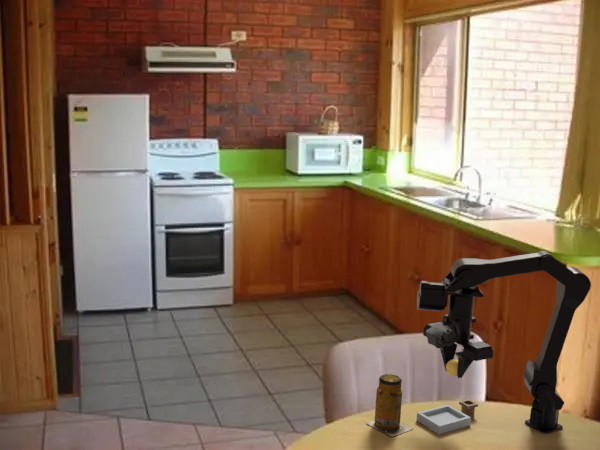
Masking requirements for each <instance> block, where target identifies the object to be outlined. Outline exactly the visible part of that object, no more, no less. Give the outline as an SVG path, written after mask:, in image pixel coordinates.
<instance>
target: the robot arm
mask: <svg viewBox="0 0 600 450" xmlns="http://www.w3.org/2000/svg"><path fill="white" fill-rule="evenodd" d="M535 272H546V273H547V274H548V275H550V276H551V277H552V278H554V279H555V280H556V287H555V294H556V297H555V301H556V302H555V305H554V308H553V312H552V315H551V317H550V321H549V324H548V327H547V330H546V333H545V336H544V339H543V342H542V345H541V348H540V351H539V354H538V357H536V358H535V360H534V361H532V360H527V363H526V368H525V371H523V373H522V375H523V378H524V383H525V386H526V387H527V389H528V390H529V392H530V394H531V397H533V398H534V399H533V401H532V402H531V408H530V414H529V419H526V420H524V423H525V424H526V425H529V426H530V427H532V428H534V429H536V430H537V431H539V432H541V433H544V434H548V433H552V432H555V431H558V430H561V429H563V427H564V426H563V425H562V424H560V423H559V415H560V411H561V410H562V408H563V406H564V405H565V402H564V399H563V398H562V397H561V395H560V393H559V392H558V391H557V382H558V369H557V367H558V363H559V360H560V358H561V354H562V352H563V348H564V345H565V342H566V339H567V336H568V333H569V330H570V327H571V324H572V321H573V319H574V316H575V315H574V314H575V313H576V311H577V309H578V308H579V307H580V306H581V305H582V304H583V302H584V301H585V299H586V297H587V296H588V294H589V292H590V290H591V288H592V281H591V280H590V278H589V277H588V275H586V274H585V273H584V272H582V271H581V270H580V269H579V268H577V267H575V266H567V265H566V264H564V263H563V262H562V261H560V260H559V259H557V258H556V257H554V256H553V255H552V254H551V253H550V252H549V251H546V250H540V251H538V252H533V253H527V254H519V255H513V256H507V257H500V258H494V259H483V258H473V257H472V258H468V257H467V258H466V257H463V258H458V259H456V260H455V261H454V262H453V264H452V265H451V267H450V271H449V272H447V274H446V275H445V277H443V278H442V280H441V282H434V281H433V282H432V281H431V282H430V281H427V280H421V281H419V282H420V283H419V288H418V291H417V292H416V293H417V295H416V309H417V310H419V311H431V312H443V310H446V308H448V310H447V314H444V315H443V316H442V321H439V322H432V323H427V324H425V326H424V327H423V330H422V332H423V334H422V336H424V337H426V339H427V344H429V345H432V346H434V347H435V348H437V349H439V351H440V354H441V357H442V362H443V367H444V370H445V371H446V372H447V370H446V364H447V362H448V361H450V360H452V359H455V356H456V357H457V360H458V370H457V376H456V377H457V378H458V379H462V378H463V376H464V375H465V373H466V372H467V370H468V369H469V368H470V366H471V364H472V363H473V362H474V361H475V362H477V361H483V360H488V359H493V357H494V348H493V346H492V345H490V344H488V343H485V342H484V341H481V340H480V341H473V342H471V341H470V340H474V338H475V334H473V333H471V330H472V324H473V323H476V320H477V318H476V317H475V316H474V315H473V314H474V308H475V307H474V306H475V305H474V304H475V297H476V298H483V297H484V296H485V295H484V293H483V291H482V290H481V289H480V288H479V286H480V285H482V284H484V283H487V282H488V281H490V280H493V279H497V278H503V277H511V276H517V275H522V274H531V273H535ZM448 301H449V302H448ZM447 306H448V307H447ZM458 347H461V350H460V351H457V348H458Z"/></svg>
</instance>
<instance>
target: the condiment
mask: <svg viewBox="0 0 600 450" xmlns="http://www.w3.org/2000/svg"><path fill="white" fill-rule="evenodd" d="M402 382H403V380H402V378H401V377H400V376H398V375H396V374H393V373H387V374H382V375H380V376H379V378H378V387H376V395H375V409H374V410H375V411H374V419H373V420H371V421H368V422H366V424H367V425H369V426H370V427H372V428H374V429H376V430H378V431H381V432H382V433H383V434H386V435H388V436H390V437H396V436H398V435H401V434H405V433H406V432H409V431H411V430H413V428H412V427H411V426H409V425H406V424H404V423H402V422H401V417H402V416H401V413H402V403H403V389H402Z"/></svg>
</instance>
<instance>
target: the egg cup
mask: <svg viewBox="0 0 600 450" xmlns="http://www.w3.org/2000/svg"><path fill="white" fill-rule="evenodd" d="M458 404H459V405H460V406H461V409H460V410H461V411H460V412H462V413H464V414H466V415H467V416H469V417H471V419H472V418H473V417H475V410H476V408H478V406H479V404H478V403H477V402H475V401H473V400H472V399H470V398H467V399H464V400H460V401H458Z"/></svg>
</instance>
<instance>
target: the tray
mask: <svg viewBox="0 0 600 450" xmlns="http://www.w3.org/2000/svg"><path fill="white" fill-rule="evenodd" d="M471 420H472V418H471V417H469V416H467V415H466V414H464V413H462V412H461V411H460V410H458V409H456V408H455V407H453V406H451V405H450V404H445V405H440V406H437V407H433V408H430V409H425V410H422V411H419V412H416V421H417V422H419V423H420V424H422V425H423V426H426V427H427V428H428V429H430V430H431V431H434V432H435V433H436V434H438V435H441V434H444V433H448V432H451V431H455V430H459V429H462V428H466V427H469V426H471Z"/></svg>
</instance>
